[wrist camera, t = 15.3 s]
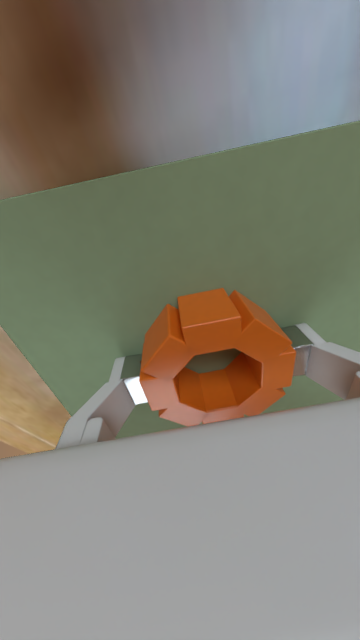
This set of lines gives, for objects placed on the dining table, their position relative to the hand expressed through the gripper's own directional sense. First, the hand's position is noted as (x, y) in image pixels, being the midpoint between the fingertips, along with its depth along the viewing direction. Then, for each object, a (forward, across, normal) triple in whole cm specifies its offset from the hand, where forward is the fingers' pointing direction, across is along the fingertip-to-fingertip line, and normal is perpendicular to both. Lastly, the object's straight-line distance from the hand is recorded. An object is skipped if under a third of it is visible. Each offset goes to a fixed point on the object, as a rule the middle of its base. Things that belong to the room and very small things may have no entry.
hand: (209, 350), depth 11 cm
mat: (+1, 0, 0) cm, 1 cm away
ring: (0, 0, 0) cm, 0 cm away
